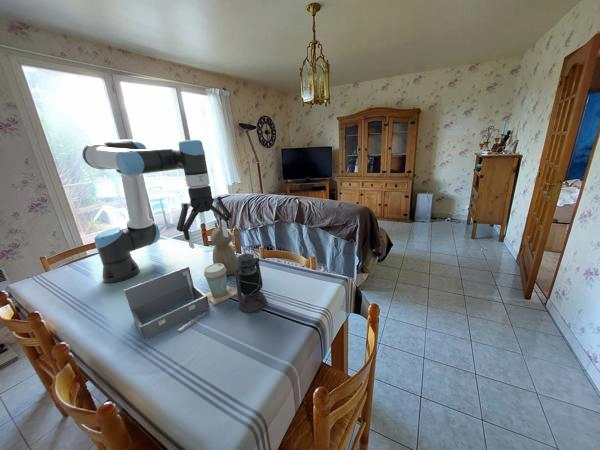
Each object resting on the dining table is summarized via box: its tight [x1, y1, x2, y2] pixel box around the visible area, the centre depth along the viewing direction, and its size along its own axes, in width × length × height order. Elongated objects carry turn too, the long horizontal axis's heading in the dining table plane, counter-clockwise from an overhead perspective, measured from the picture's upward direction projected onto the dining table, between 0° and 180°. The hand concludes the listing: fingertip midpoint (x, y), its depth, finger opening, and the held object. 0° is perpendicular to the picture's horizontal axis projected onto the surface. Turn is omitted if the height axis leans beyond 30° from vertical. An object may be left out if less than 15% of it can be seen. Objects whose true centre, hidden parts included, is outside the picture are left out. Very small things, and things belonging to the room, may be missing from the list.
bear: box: [209, 221, 240, 276], centre depth 116 cm, size 21×16×25 cm
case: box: [123, 265, 210, 341], centre depth 89 cm, size 15×22×13 cm, turn 134°
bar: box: [177, 311, 205, 334], centre depth 86 cm, size 10×1×1 cm, turn 150°
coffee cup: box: [203, 263, 228, 298], centre depth 99 cm, size 8×8×12 cm
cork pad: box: [204, 284, 238, 306], centre depth 101 cm, size 10×10×1 cm
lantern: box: [233, 229, 268, 315], centre depth 88 cm, size 12×11×30 cm
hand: (209, 241), depth 94 cm, fingers open, 13 cm apart
